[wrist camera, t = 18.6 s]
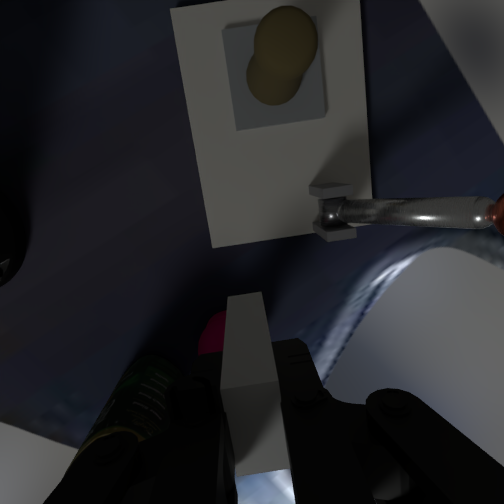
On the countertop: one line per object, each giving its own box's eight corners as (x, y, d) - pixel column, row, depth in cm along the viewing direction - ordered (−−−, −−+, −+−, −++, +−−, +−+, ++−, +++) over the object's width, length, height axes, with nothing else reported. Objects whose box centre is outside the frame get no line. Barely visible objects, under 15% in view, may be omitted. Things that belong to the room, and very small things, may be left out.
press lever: (312, 232, 37) (555, 252, 21) (308, 195, 36) (560, 186, 20) (336, 224, 39) (574, 237, 23) (333, 190, 39) (579, 177, 22)
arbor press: (213, 245, 43) (207, 263, 35) (172, 15, 37) (153, -30, 29) (369, 222, 43) (400, 233, 35) (353, -12, 37) (386, -65, 29)
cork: (286, 33, 36) (306, -27, 25) (311, 88, 37) (341, 54, 26) (235, 63, 36) (234, 17, 26) (262, 116, 38) (272, 94, 27)
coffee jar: (147, 342, 46) (88, 453, 28) (194, 375, 47) (167, 500, 29) (106, 392, 47) (24, 527, 29) (152, 422, 49) (102, 569, 31)
